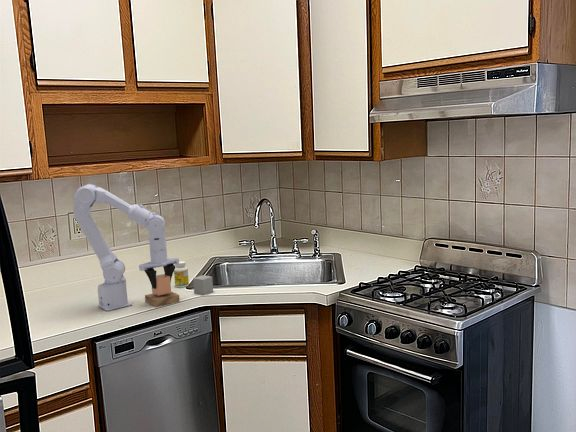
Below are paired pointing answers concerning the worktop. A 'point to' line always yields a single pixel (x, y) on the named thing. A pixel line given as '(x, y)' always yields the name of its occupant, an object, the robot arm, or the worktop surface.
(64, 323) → the worktop surface
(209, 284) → the slate block
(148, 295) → the walnut slab
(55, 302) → the worktop surface
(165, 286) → the terracotta block
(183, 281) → the supplement bottle
